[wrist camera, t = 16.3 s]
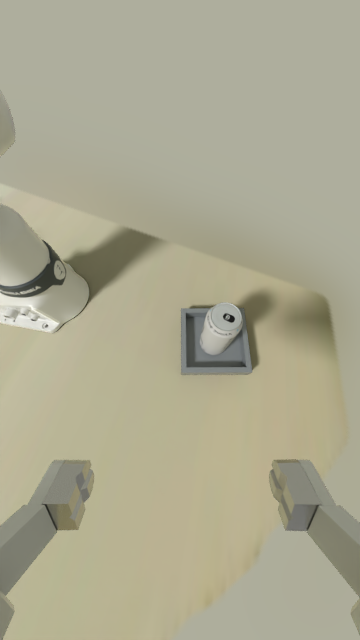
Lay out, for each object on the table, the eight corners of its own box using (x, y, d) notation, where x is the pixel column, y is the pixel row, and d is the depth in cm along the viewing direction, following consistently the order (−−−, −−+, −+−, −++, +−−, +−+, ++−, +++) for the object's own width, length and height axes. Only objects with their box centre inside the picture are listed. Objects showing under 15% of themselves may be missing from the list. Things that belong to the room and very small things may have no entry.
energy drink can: (206, 325, 48) (216, 293, 34) (230, 337, 46) (251, 308, 33) (194, 348, 46) (200, 323, 32) (219, 361, 45) (237, 341, 31)
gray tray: (181, 374, 44) (181, 372, 41) (181, 314, 50) (181, 308, 46) (247, 374, 44) (252, 372, 41) (239, 314, 49) (243, 308, 46)
